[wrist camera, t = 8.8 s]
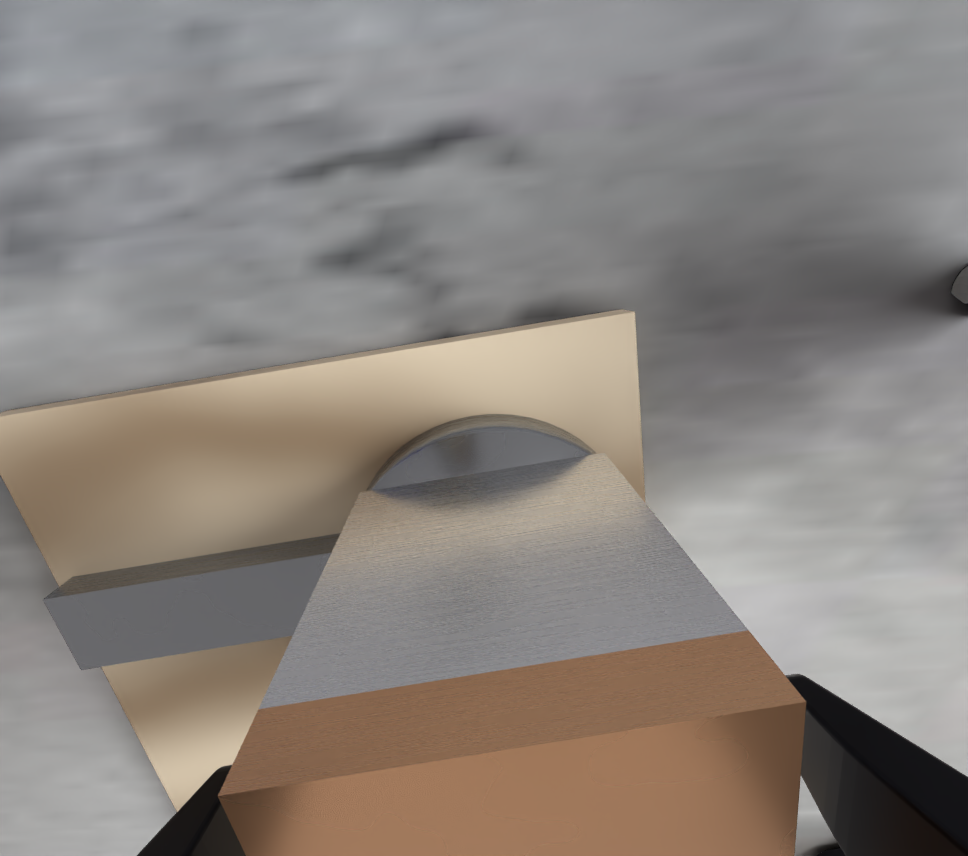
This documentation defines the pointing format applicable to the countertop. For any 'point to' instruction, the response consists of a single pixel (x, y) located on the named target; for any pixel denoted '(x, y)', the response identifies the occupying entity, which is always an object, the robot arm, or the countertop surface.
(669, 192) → the countertop surface
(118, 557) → the workboard
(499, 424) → the grey frying pan
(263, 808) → the tan box
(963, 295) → the mechanical component
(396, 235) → the countertop surface
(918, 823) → the robot arm
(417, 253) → the countertop surface
